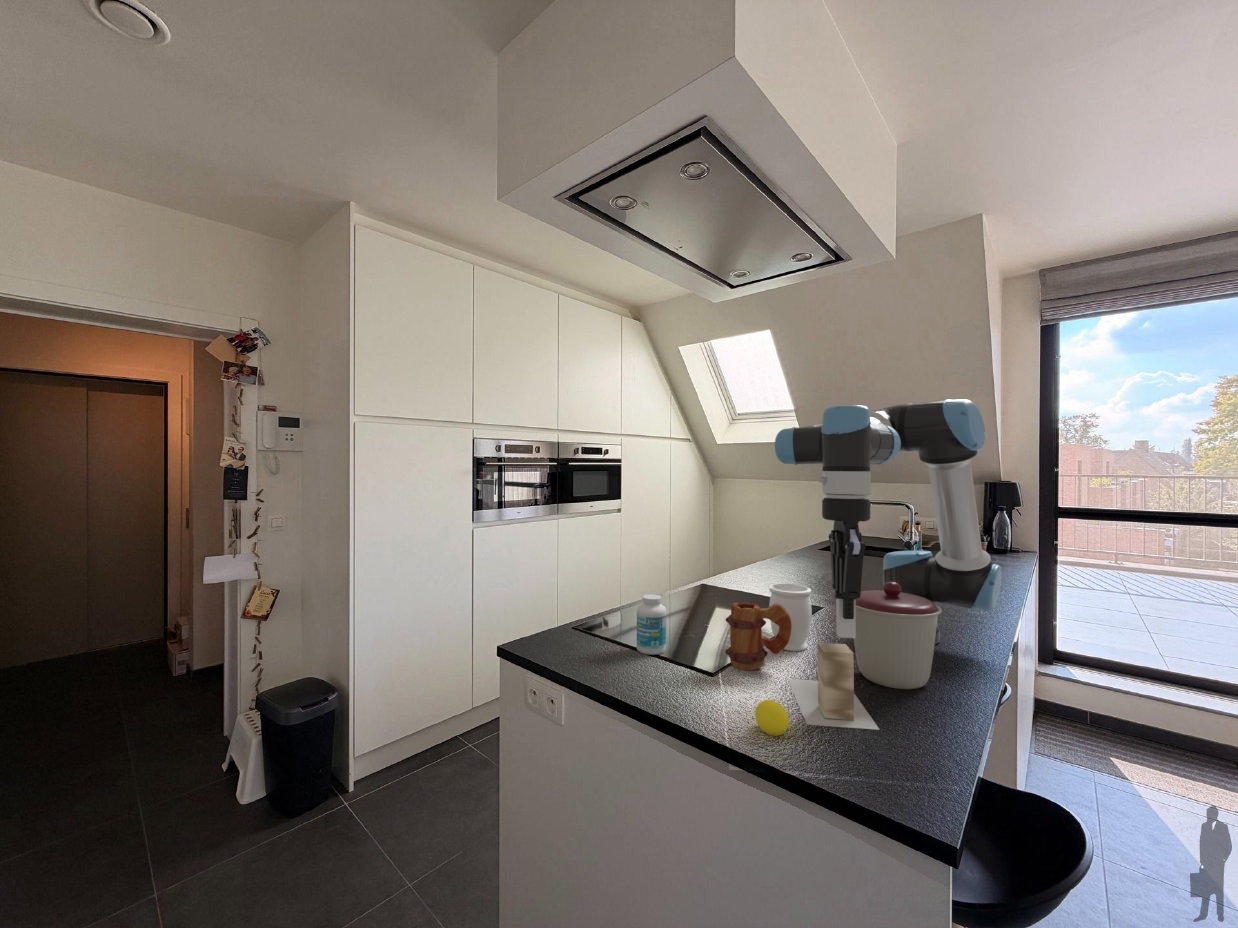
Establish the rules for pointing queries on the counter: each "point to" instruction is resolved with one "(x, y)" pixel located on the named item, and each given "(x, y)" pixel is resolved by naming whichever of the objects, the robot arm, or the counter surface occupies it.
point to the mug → (755, 634)
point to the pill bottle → (651, 626)
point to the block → (836, 681)
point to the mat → (809, 707)
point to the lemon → (772, 717)
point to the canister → (895, 637)
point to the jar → (793, 612)
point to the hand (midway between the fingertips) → (845, 636)
